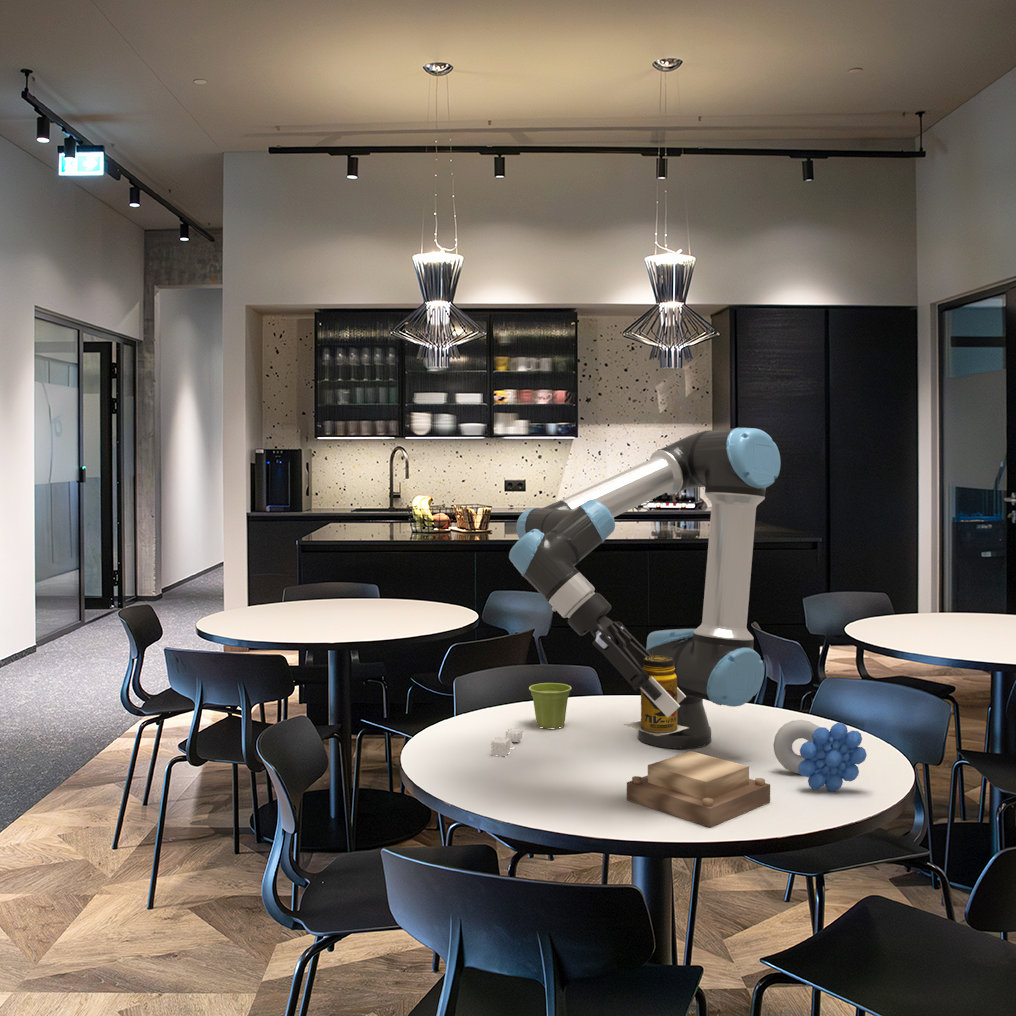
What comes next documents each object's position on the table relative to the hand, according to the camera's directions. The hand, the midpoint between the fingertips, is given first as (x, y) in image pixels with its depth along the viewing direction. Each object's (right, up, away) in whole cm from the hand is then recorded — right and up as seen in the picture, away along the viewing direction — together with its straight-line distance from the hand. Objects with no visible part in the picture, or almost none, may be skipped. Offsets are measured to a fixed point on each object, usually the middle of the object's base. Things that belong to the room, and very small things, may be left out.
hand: (676, 706), depth 153 cm
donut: (+26, -16, +17) cm, 35 cm away
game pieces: (-28, -16, +33) cm, 47 cm away
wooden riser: (+4, -16, +2) cm, 17 cm away
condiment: (-3, -4, +2) cm, 6 cm away
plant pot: (-19, -15, +50) cm, 56 cm away
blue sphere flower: (+28, -16, +8) cm, 34 cm away
